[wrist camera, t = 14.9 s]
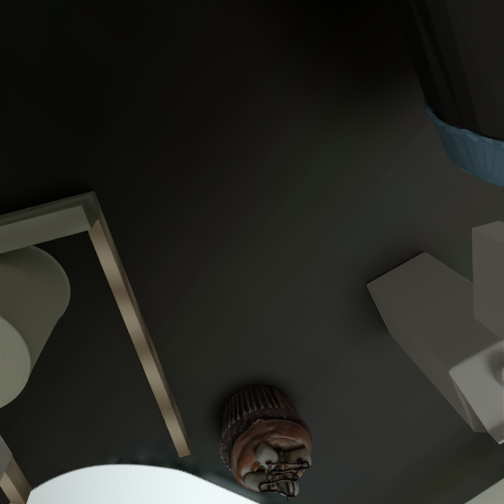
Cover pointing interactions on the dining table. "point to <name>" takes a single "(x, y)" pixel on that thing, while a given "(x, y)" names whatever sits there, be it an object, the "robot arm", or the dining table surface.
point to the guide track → (92, 219)
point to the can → (27, 312)
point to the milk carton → (445, 338)
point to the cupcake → (265, 441)
